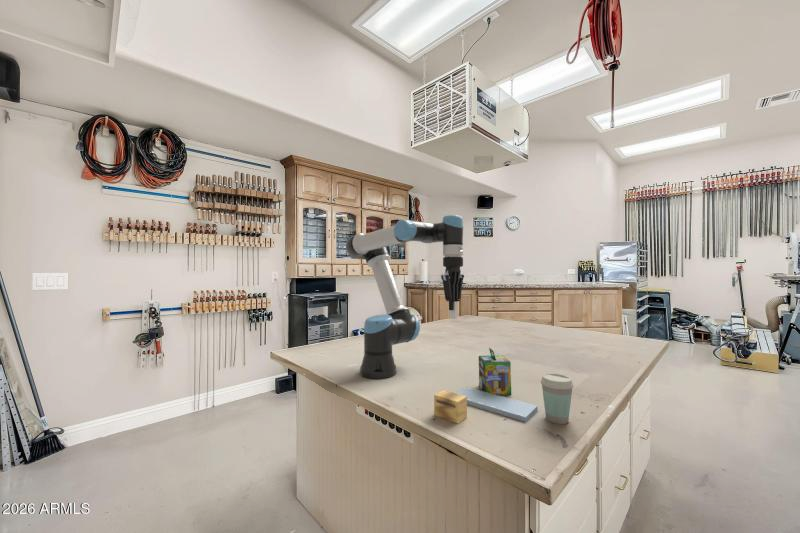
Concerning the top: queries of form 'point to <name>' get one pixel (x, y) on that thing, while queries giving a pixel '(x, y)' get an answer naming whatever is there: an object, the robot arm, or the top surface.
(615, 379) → the top surface
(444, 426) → the top surface
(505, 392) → the chalk box
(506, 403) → the board
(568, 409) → the coffee cup
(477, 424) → the top surface
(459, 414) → the tan rectangular block
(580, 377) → the top surface
